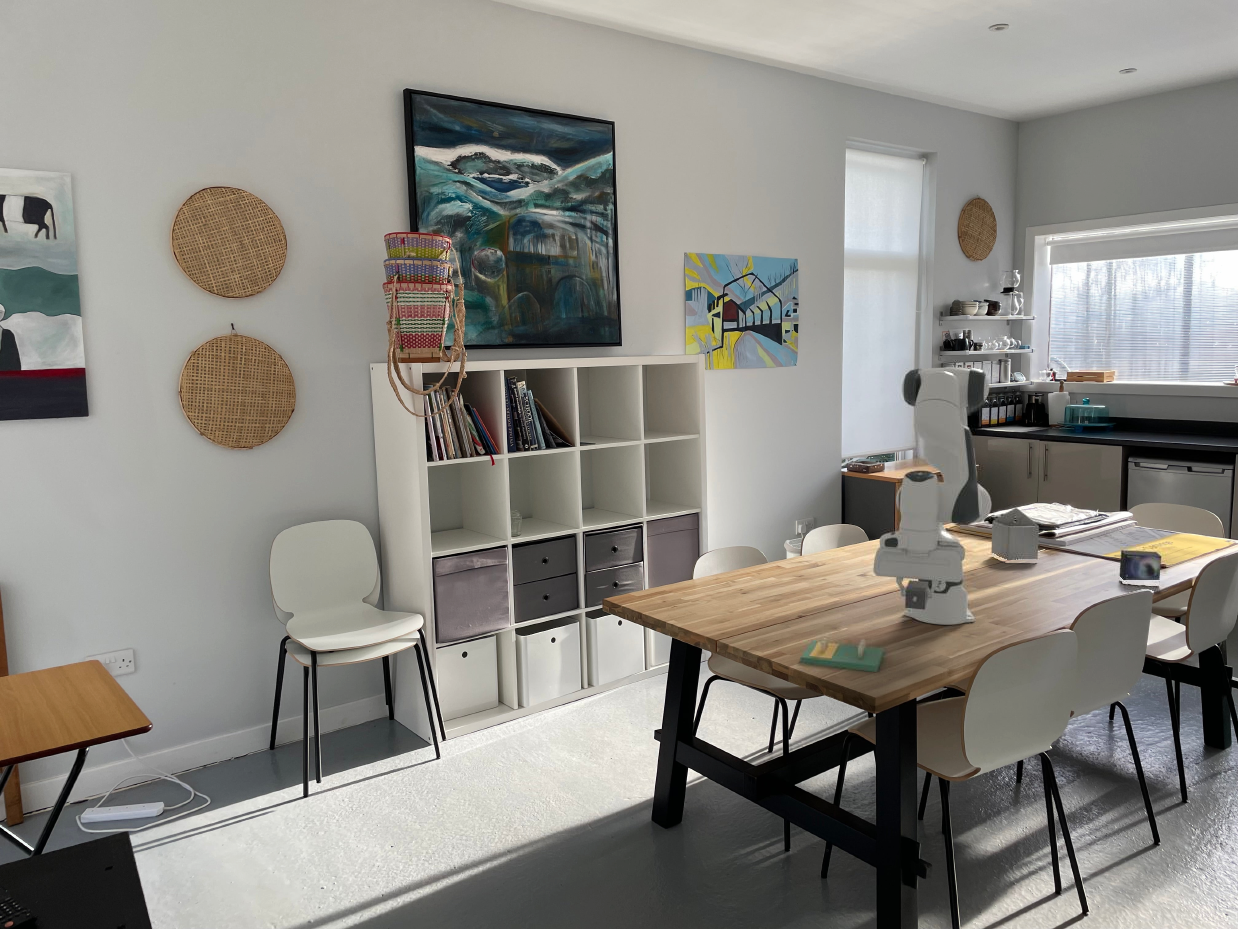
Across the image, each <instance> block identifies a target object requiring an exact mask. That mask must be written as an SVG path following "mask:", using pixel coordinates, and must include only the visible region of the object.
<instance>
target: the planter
mask: <svg viewBox="0 0 1238 929" xmlns="http://www.w3.org/2000/svg"><path fill="white" fill-rule="evenodd" d="M1015 519H1016V521H1015ZM991 530H992V531H991V553H994V554H996V555H997V556H999V557H1002V558H1004V559H1007V560H1013V559H1014V560H1016V559H1017V560H1018V559H1038V558H1039V556H1038V554H1039V533H1040V532H1039V531H1040V526H1039V525H1038V523H1036V522H1035V521H1034V520H1033V519H1032V518H1030V516H1028V515H1026V514H1025V513H1024V512H1023V511H1021V510H1020V509H1019V508H1017V507H1015V508H1012V509H1011V510H1009V511H1008V512H1005V513H1004V514H1001V515H1000V516H999V517H997V518H996V519H994V520H993V521H992V526H991ZM1038 560H1039V559H1038Z"/></svg>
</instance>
